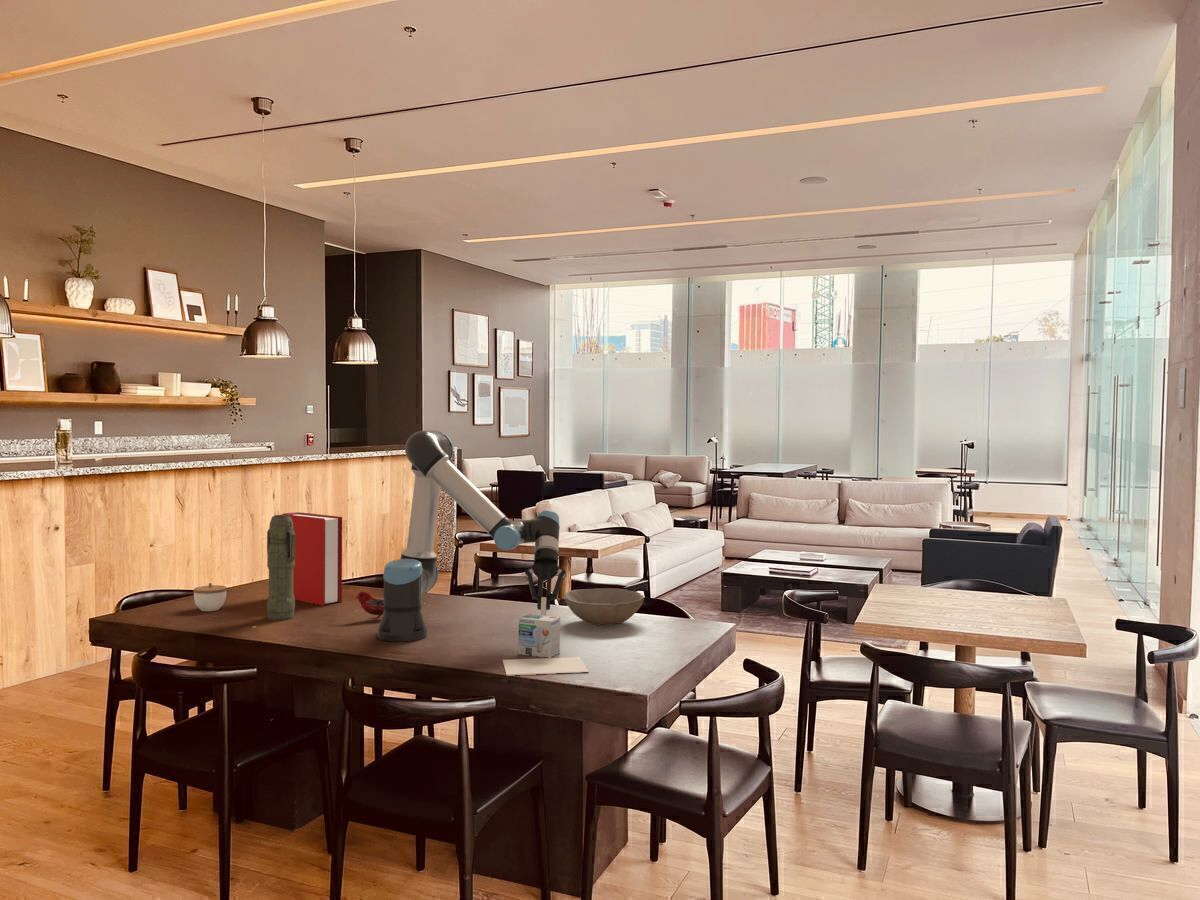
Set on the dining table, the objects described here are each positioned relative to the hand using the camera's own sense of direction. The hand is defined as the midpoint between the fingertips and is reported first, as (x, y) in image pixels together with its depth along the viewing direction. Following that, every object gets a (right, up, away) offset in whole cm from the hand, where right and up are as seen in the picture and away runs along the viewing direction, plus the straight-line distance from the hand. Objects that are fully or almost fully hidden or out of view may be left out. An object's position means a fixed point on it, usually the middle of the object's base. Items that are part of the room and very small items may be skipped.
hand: (543, 618), depth 261 cm
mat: (+2, -10, -19) cm, 22 cm away
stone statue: (-92, -8, +40) cm, 101 cm away
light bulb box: (-1, -10, -5) cm, 11 cm away
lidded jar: (-122, -7, +52) cm, 132 cm away
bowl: (+18, -9, +36) cm, 42 cm away
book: (-93, -7, +72) cm, 118 cm away
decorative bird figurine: (-58, -8, +39) cm, 70 cm away
